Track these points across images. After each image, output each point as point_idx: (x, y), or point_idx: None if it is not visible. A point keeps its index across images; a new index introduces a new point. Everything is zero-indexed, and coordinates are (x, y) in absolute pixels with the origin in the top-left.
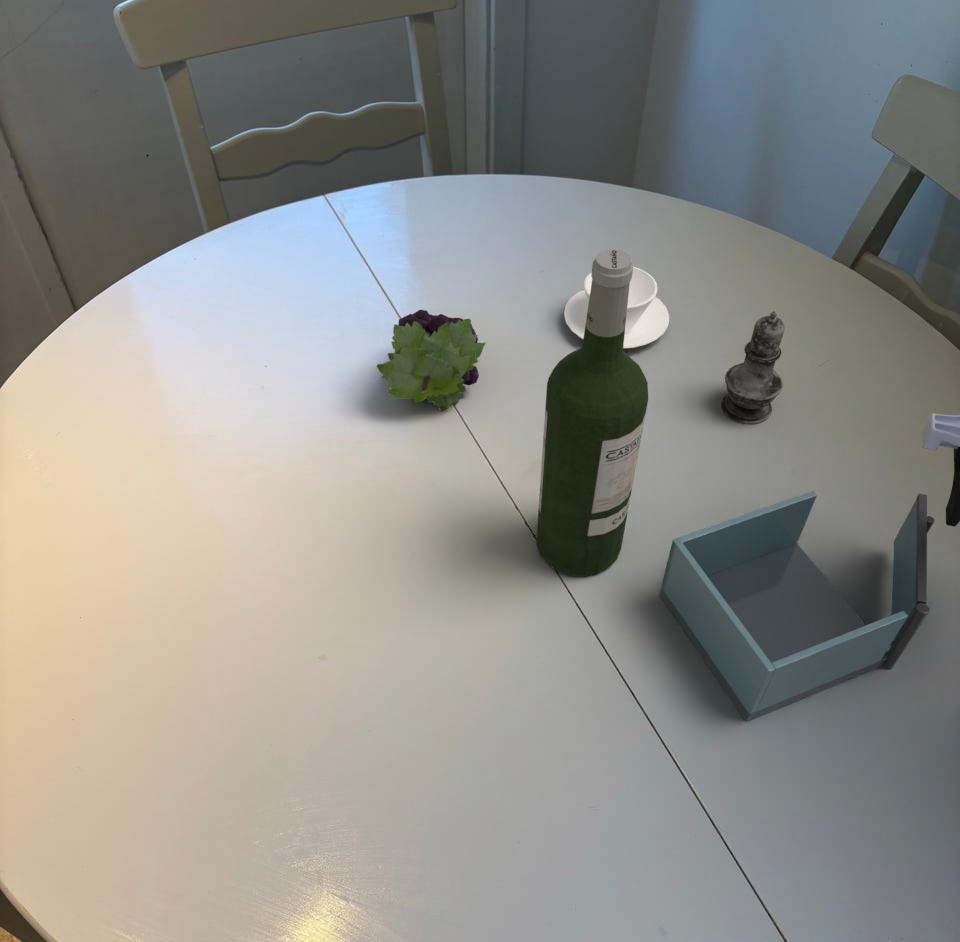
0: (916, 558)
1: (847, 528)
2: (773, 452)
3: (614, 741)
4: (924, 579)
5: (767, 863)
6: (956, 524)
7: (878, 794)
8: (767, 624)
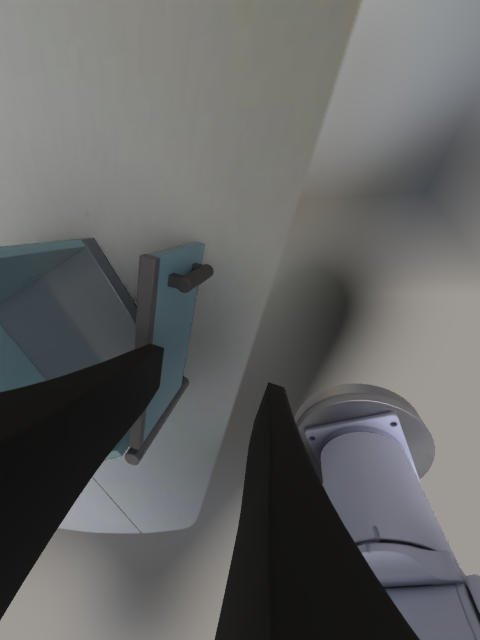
0: None
1: (158, 198)
2: (45, 3)
3: None
4: (138, 423)
5: (107, 481)
6: (153, 395)
7: (167, 463)
8: (73, 351)
